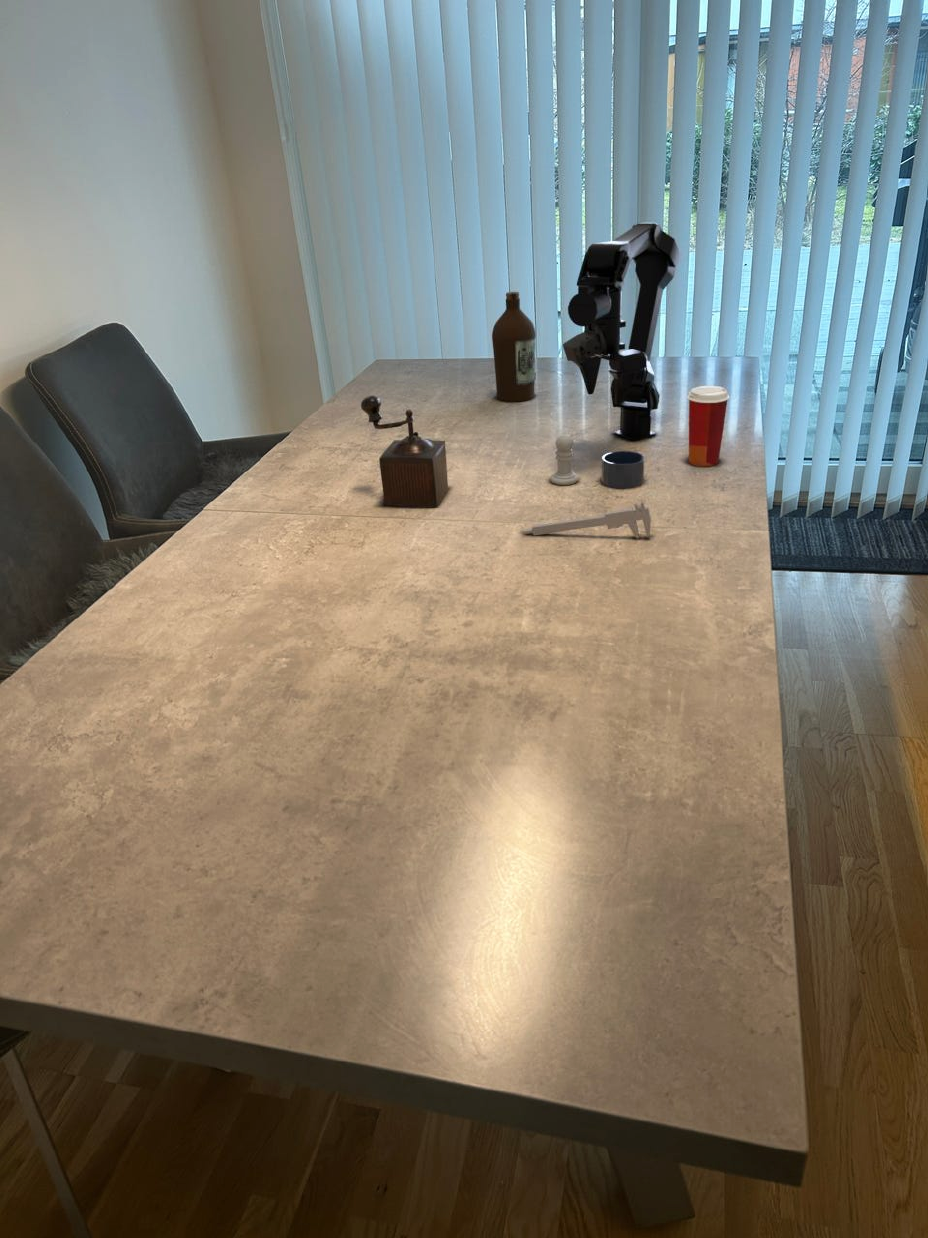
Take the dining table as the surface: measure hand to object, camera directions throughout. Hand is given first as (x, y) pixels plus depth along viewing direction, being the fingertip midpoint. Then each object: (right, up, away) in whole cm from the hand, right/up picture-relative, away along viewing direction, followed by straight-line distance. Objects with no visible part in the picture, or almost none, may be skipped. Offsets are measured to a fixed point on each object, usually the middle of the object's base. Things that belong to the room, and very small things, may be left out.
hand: (604, 398), depth 174 cm
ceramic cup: (+2, -17, -6) cm, 18 cm away
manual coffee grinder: (-39, -20, -6) cm, 44 cm away
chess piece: (-8, -17, -4) cm, 19 cm away
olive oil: (-14, +13, +50) cm, 53 cm away
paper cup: (+19, -12, +1) cm, 23 cm away
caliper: (-7, -30, -27) cm, 41 cm away
